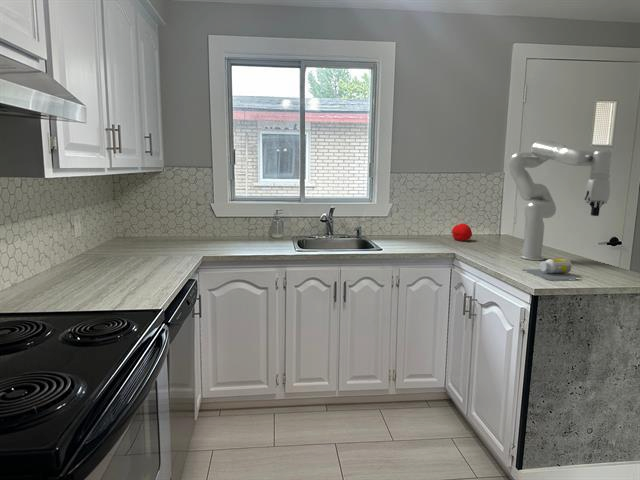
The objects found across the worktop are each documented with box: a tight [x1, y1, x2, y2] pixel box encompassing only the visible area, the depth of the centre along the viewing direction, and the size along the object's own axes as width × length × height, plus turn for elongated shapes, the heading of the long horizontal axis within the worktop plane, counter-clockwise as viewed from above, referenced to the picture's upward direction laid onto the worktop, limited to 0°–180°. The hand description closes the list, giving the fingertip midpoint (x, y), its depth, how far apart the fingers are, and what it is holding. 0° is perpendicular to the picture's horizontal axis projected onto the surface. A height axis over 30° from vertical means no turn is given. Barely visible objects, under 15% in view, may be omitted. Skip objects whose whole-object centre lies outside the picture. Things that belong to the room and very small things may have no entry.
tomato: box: [451, 223, 473, 242], centre depth 299 cm, size 13×13×13 cm
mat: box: [522, 268, 578, 281], centre depth 205 cm, size 20×16×1 cm
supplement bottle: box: [539, 258, 573, 274], centre depth 207 cm, size 7×7×13 cm
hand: (594, 215), depth 211 cm, fingers closed
